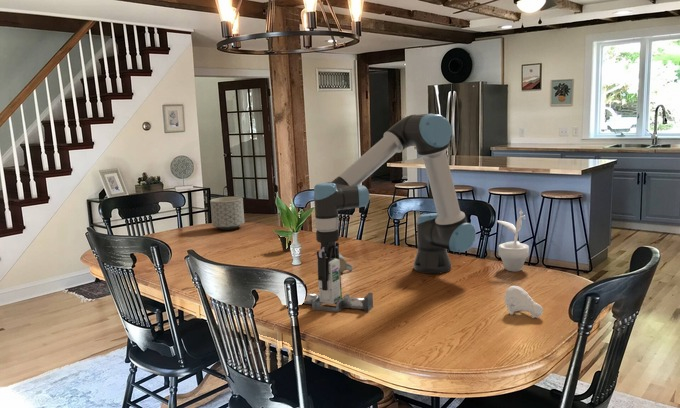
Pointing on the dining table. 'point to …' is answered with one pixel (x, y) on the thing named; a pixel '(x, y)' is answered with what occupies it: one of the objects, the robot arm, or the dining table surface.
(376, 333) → the dining table surface
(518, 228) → the potted plant
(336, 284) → the syrup box
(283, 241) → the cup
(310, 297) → the coupling cradle
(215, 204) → the planter
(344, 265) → the ceramic mug
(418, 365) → the dining table surface
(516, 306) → the white lumpy piece
